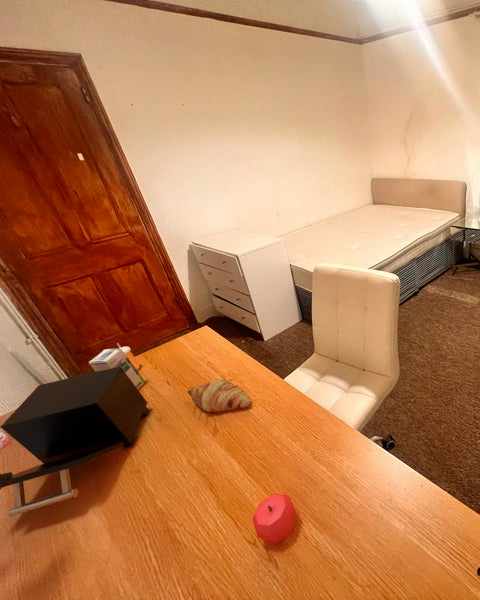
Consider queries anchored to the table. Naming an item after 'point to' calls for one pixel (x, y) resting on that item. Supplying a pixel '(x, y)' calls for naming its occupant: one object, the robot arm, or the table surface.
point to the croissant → (219, 396)
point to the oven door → (50, 468)
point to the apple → (274, 518)
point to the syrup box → (117, 364)
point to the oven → (78, 415)
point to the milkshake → (129, 355)
